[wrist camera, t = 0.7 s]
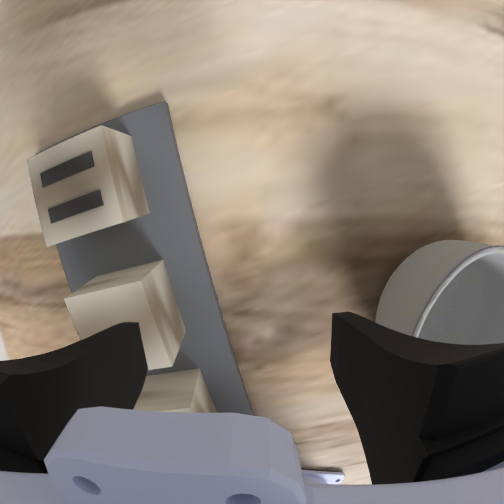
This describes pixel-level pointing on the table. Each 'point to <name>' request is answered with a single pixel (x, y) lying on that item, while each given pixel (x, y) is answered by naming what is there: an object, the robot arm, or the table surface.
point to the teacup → (447, 294)
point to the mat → (165, 256)
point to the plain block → (132, 309)
